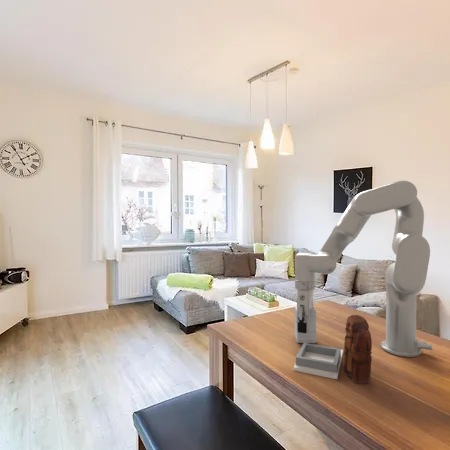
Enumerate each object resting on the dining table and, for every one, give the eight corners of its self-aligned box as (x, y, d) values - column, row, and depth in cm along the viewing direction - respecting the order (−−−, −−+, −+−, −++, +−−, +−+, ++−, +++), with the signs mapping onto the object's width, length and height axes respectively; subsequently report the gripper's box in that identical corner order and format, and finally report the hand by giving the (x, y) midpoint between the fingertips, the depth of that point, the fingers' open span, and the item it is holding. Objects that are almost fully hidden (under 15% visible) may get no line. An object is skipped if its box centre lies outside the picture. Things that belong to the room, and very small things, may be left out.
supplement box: (313, 336, 126) (313, 305, 125) (316, 343, 118) (316, 310, 118) (294, 335, 126) (294, 304, 126) (296, 343, 119) (296, 310, 119)
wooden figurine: (339, 365, 101) (339, 310, 101) (359, 365, 101) (359, 310, 100) (353, 385, 89) (353, 323, 89) (375, 385, 89) (376, 323, 89)
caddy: (343, 352, 111) (343, 342, 111) (337, 379, 93) (337, 367, 92) (306, 346, 116) (306, 336, 116) (293, 370, 98) (293, 359, 98)
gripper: (310, 290, 112) (310, 337, 113) (318, 281, 128) (318, 322, 128) (290, 288, 115) (289, 334, 116) (299, 279, 131) (299, 320, 132)
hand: (304, 328), depth 122 cm, fingers closed on supplement box, 9 cm apart
